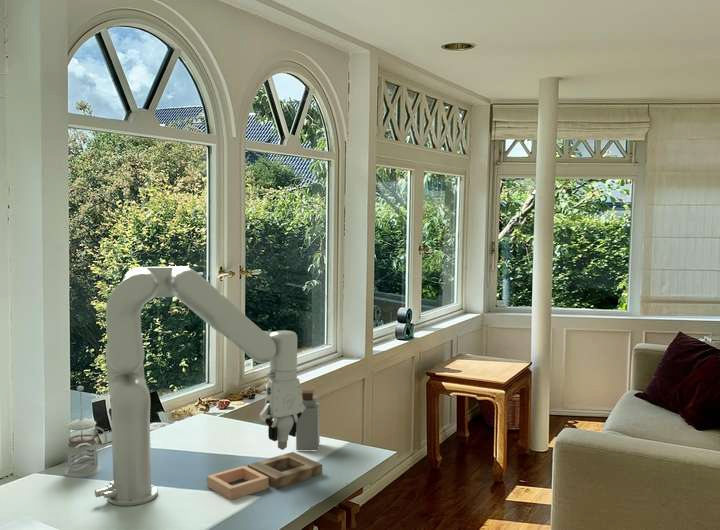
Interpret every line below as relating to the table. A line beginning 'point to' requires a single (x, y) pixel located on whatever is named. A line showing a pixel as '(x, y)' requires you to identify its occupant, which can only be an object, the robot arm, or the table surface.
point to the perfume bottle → (308, 424)
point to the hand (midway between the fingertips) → (282, 437)
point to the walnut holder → (299, 472)
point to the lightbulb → (283, 430)
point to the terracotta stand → (252, 484)
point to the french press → (83, 448)
